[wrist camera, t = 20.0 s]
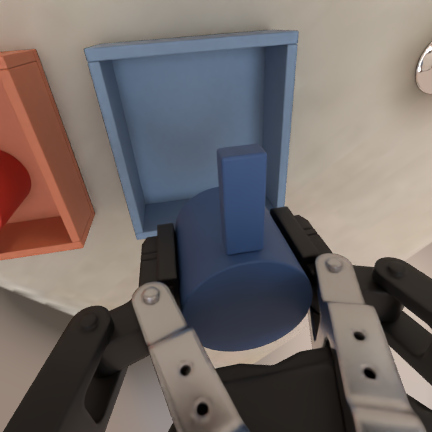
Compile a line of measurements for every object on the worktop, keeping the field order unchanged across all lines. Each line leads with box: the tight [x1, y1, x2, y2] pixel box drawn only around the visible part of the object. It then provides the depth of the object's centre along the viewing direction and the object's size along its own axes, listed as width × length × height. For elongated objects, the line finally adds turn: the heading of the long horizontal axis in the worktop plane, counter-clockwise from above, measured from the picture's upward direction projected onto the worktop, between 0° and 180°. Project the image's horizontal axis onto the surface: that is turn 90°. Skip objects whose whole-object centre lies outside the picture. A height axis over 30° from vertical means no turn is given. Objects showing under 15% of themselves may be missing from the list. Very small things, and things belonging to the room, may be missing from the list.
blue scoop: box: [175, 144, 313, 351], centre depth 11 cm, size 8×5×5 cm, turn 4°
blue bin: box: [84, 30, 298, 240], centre depth 20 cm, size 12×11×5 cm
